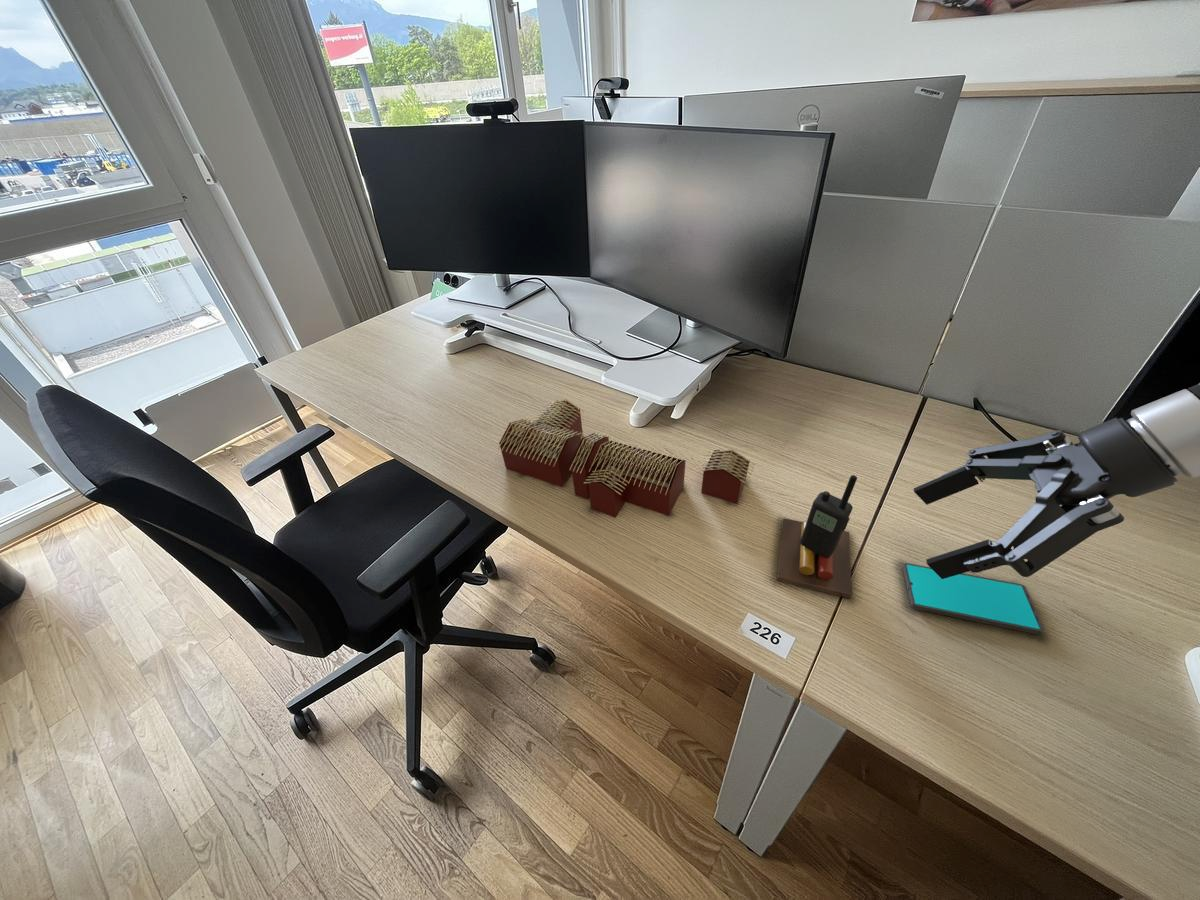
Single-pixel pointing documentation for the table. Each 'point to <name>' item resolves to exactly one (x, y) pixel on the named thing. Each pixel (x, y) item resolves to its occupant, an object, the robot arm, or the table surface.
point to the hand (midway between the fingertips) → (926, 530)
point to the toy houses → (611, 464)
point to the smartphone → (972, 598)
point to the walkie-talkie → (827, 521)
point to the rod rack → (813, 563)
